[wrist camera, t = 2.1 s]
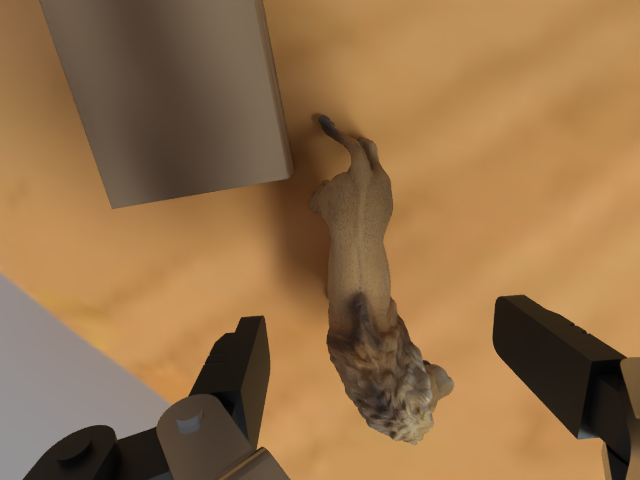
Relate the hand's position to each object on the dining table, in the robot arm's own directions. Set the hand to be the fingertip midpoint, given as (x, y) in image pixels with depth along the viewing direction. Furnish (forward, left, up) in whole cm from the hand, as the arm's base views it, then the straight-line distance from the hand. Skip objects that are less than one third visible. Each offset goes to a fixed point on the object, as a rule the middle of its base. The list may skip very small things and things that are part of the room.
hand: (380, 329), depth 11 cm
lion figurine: (0, 0, -9) cm, 9 cm away
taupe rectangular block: (+8, -12, -10) cm, 17 cm away
